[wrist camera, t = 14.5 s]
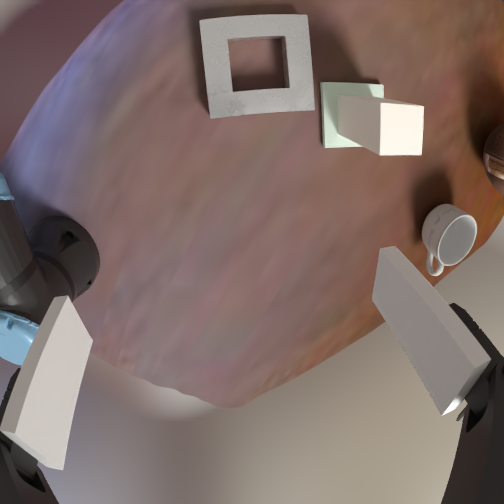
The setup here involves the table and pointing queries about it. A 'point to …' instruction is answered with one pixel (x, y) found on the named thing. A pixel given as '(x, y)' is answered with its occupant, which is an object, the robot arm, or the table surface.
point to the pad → (331, 111)
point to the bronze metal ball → (495, 158)
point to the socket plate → (257, 28)
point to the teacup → (447, 236)
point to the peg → (381, 124)
